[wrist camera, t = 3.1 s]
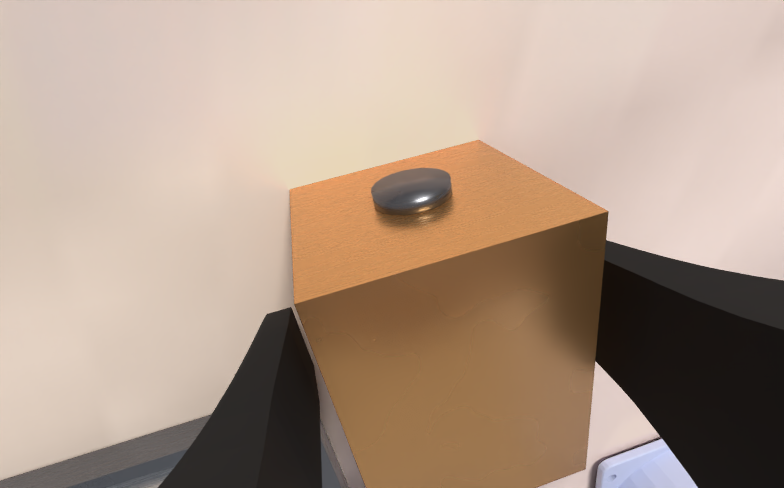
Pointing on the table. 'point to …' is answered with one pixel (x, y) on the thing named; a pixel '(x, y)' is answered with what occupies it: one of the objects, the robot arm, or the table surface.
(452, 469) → the block
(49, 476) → the plate
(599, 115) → the table surface
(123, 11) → the table surface
